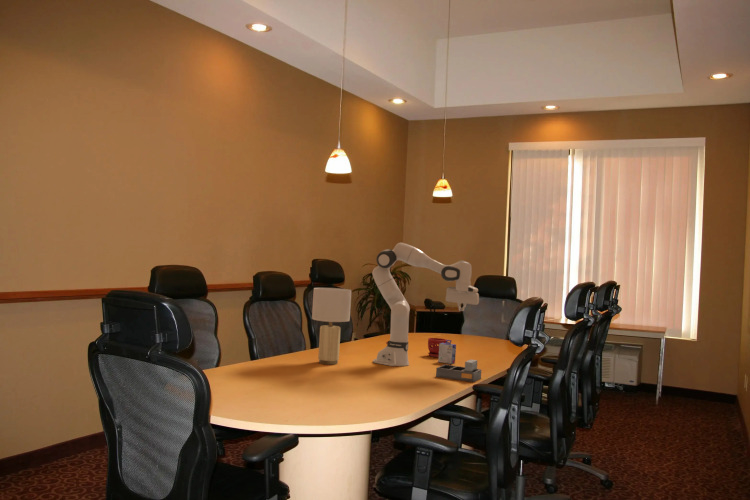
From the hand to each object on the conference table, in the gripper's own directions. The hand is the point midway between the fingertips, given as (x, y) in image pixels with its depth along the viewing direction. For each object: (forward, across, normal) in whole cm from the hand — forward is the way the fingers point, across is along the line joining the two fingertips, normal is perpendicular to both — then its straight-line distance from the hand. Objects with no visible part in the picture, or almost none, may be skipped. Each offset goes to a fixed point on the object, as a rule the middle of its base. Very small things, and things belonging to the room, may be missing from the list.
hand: (461, 310), depth 376 cm
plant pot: (+36, -28, +39) cm, 60 cm away
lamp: (+37, -68, -36) cm, 86 cm away
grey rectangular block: (+35, +15, -20) cm, 43 cm away
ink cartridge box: (+36, -14, +20) cm, 44 cm away
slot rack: (+36, +8, -20) cm, 42 cm away
